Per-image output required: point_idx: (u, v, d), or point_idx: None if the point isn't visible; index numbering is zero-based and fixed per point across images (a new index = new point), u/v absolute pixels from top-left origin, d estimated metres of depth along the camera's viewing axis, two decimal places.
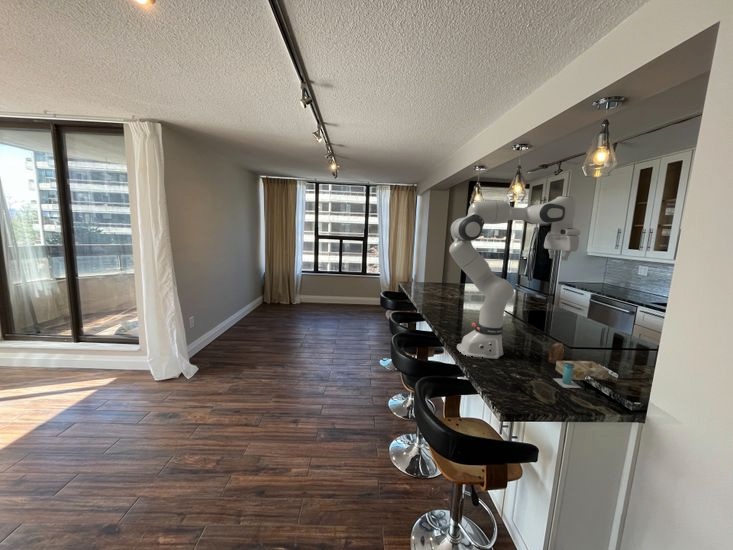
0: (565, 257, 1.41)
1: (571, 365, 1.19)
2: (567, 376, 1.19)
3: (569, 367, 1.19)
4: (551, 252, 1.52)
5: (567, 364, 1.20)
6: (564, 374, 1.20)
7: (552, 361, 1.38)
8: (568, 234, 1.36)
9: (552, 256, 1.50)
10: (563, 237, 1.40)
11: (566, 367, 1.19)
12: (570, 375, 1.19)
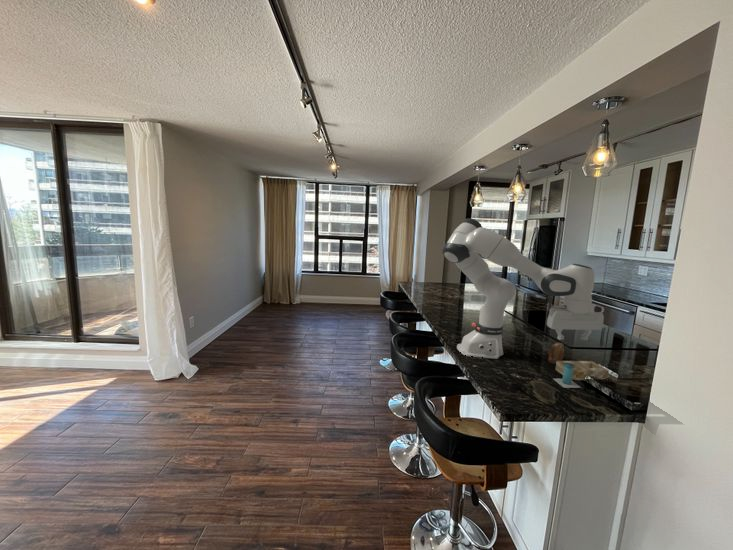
0: None
1: (571, 365, 1.19)
2: (567, 376, 1.19)
3: (569, 367, 1.19)
4: None
5: (567, 364, 1.20)
6: (564, 374, 1.20)
7: (552, 361, 1.38)
8: None
9: None
10: (593, 315, 1.14)
11: (566, 367, 1.19)
12: (570, 375, 1.19)
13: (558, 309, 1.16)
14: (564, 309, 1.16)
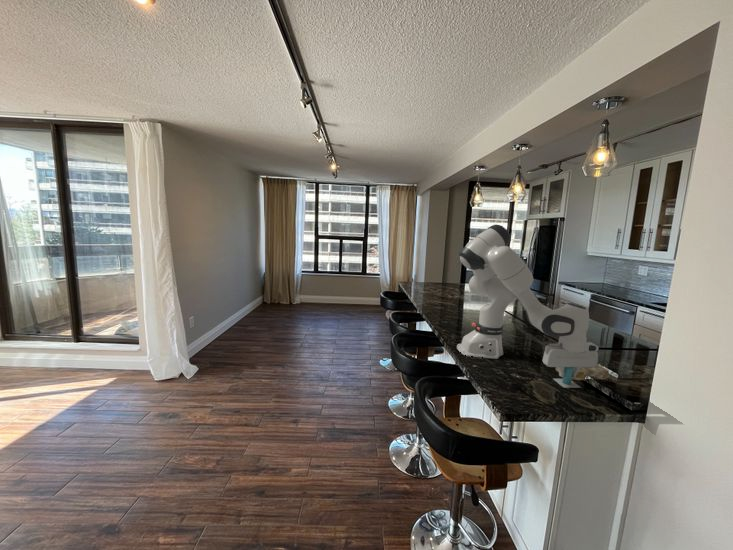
0: None
1: None
2: (567, 376, 1.19)
3: (569, 367, 1.19)
4: None
5: None
6: None
7: None
8: None
9: None
10: (588, 353, 1.17)
11: (566, 367, 1.19)
12: (570, 375, 1.19)
13: (554, 347, 1.18)
14: (559, 347, 1.18)
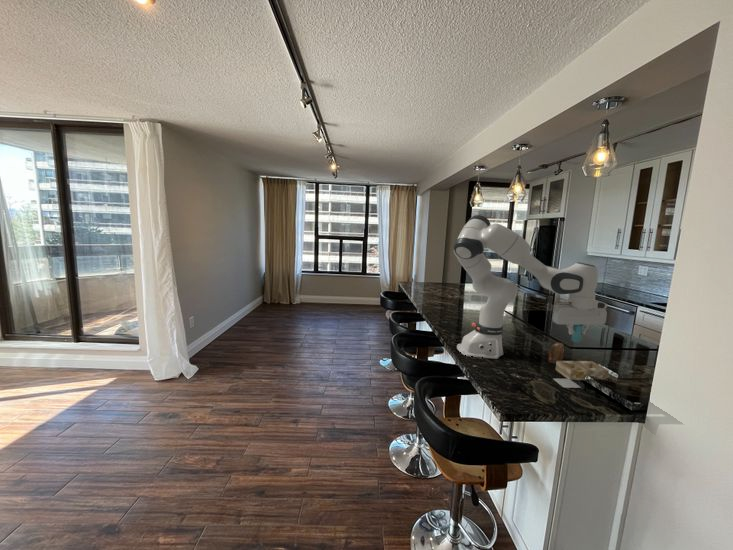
0: None
1: None
2: (577, 334, 1.23)
3: (578, 325, 1.23)
4: None
5: None
6: None
7: (552, 361, 1.38)
8: None
9: None
10: (597, 311, 1.21)
11: (575, 325, 1.23)
12: (579, 333, 1.23)
13: (563, 305, 1.22)
14: (569, 305, 1.22)
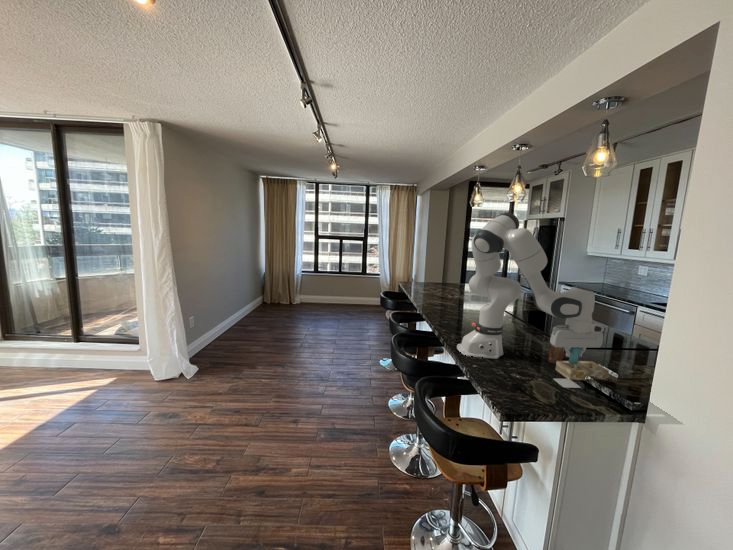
0: None
1: None
2: (574, 356, 1.25)
3: (575, 348, 1.25)
4: None
5: None
6: None
7: (552, 361, 1.38)
8: None
9: None
10: (593, 334, 1.23)
11: (572, 348, 1.25)
12: (576, 355, 1.25)
13: (561, 328, 1.24)
14: (566, 328, 1.24)
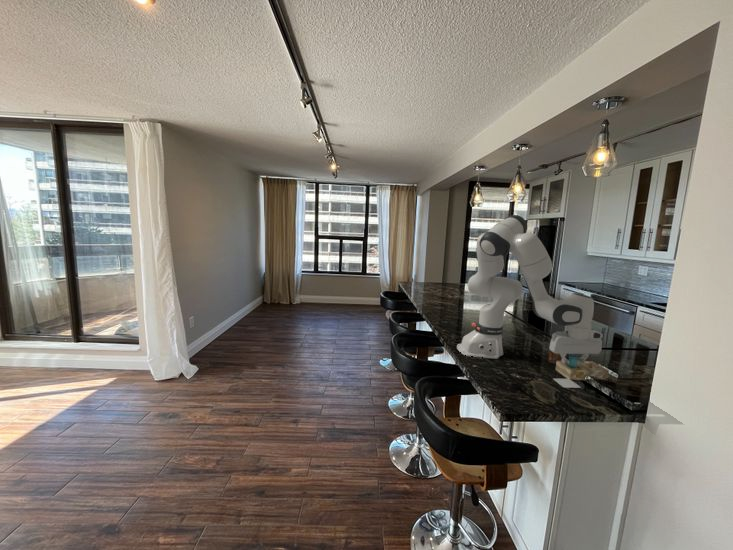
0: None
1: (575, 356, 1.26)
2: (572, 367, 1.26)
3: (574, 358, 1.26)
4: None
5: (572, 355, 1.27)
6: (569, 365, 1.27)
7: (552, 361, 1.38)
8: None
9: None
10: (592, 340, 1.24)
11: (571, 358, 1.26)
12: (575, 365, 1.26)
13: (560, 335, 1.25)
14: (566, 335, 1.25)
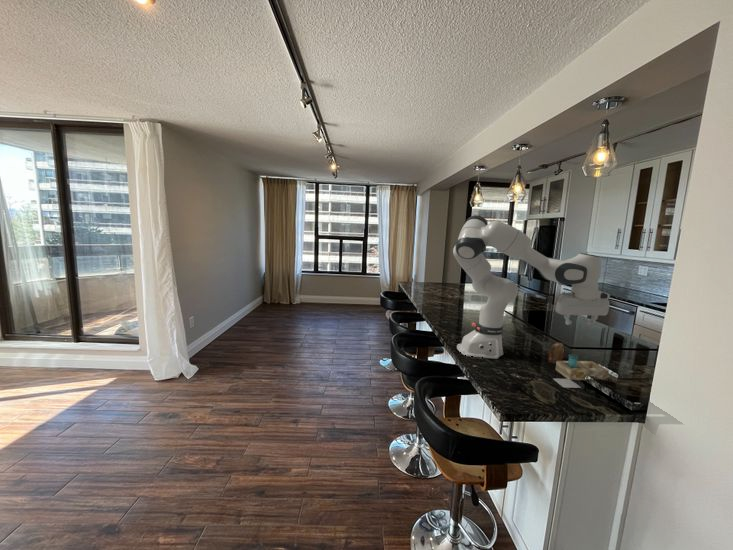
0: None
1: (575, 356, 1.26)
2: (572, 367, 1.26)
3: (573, 358, 1.26)
4: None
5: (572, 355, 1.27)
6: (569, 365, 1.27)
7: (552, 361, 1.38)
8: None
9: None
10: (599, 301, 1.22)
11: (571, 358, 1.26)
12: (575, 365, 1.26)
13: (566, 296, 1.24)
14: (572, 296, 1.23)
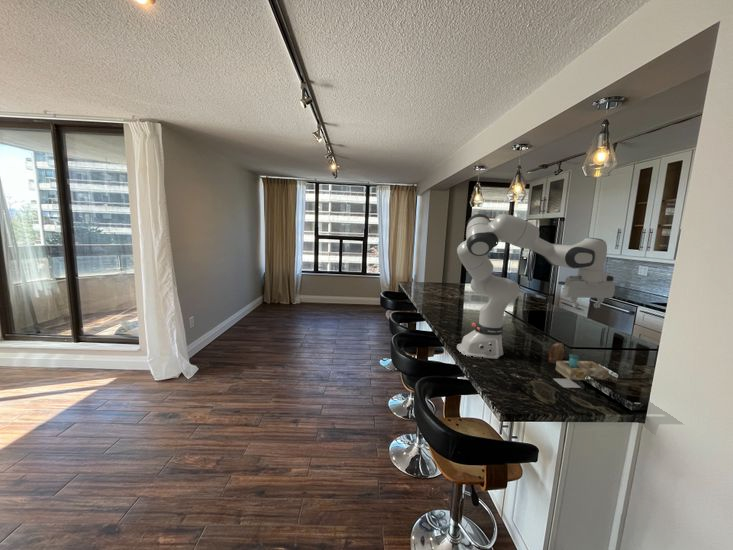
0: None
1: (576, 356, 1.26)
2: (572, 366, 1.26)
3: (574, 358, 1.26)
4: None
5: (572, 355, 1.27)
6: (569, 364, 1.27)
7: (552, 361, 1.38)
8: None
9: None
10: (605, 284, 1.26)
11: (571, 358, 1.27)
12: (575, 365, 1.26)
13: (573, 279, 1.27)
14: (579, 279, 1.27)
